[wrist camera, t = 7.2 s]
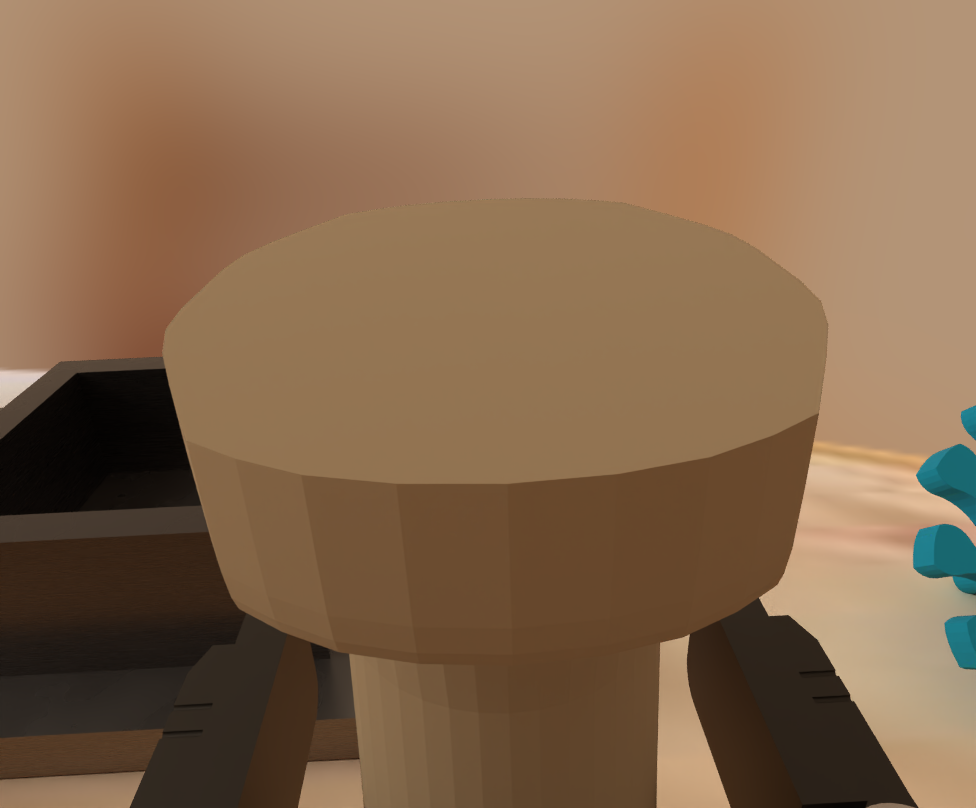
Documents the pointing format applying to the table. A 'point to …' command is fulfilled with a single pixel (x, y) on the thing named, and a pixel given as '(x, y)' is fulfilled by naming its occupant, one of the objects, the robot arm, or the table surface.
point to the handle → (501, 473)
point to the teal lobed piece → (952, 535)
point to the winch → (112, 577)
